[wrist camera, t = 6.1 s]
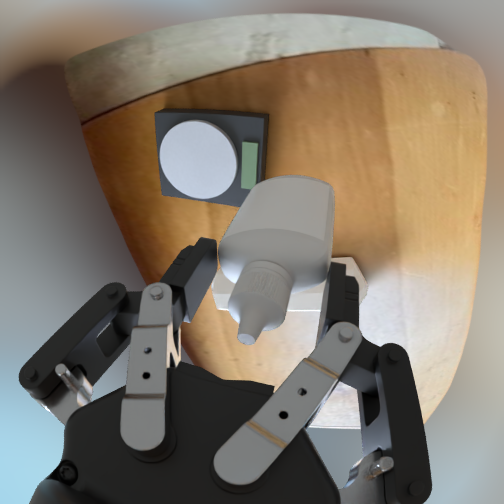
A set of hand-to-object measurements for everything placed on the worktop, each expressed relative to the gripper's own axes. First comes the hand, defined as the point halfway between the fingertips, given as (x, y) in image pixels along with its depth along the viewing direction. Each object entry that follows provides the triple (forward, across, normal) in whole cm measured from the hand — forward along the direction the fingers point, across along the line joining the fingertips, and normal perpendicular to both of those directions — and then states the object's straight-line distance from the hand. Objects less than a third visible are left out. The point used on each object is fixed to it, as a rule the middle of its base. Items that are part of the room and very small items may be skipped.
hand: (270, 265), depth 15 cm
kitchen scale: (+24, +12, +4) cm, 27 cm away
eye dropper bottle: (+8, 0, 0) cm, 8 cm away
